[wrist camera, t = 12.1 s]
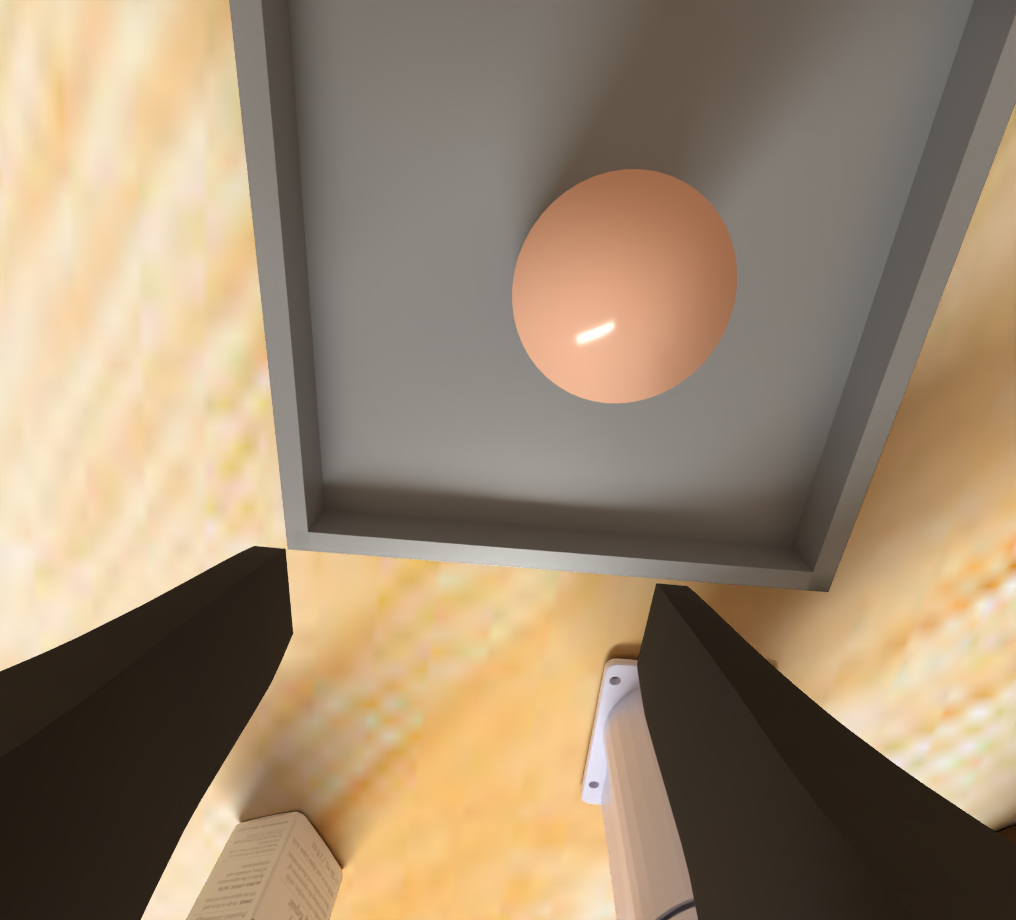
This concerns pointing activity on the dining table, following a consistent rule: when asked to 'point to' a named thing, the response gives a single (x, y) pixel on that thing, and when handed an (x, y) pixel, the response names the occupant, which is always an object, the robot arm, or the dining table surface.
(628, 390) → the pink rounded cylinder
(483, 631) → the dining table surface
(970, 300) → the dining table surface
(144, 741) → the robot arm
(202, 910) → the skincare box
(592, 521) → the tray
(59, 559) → the dining table surface
